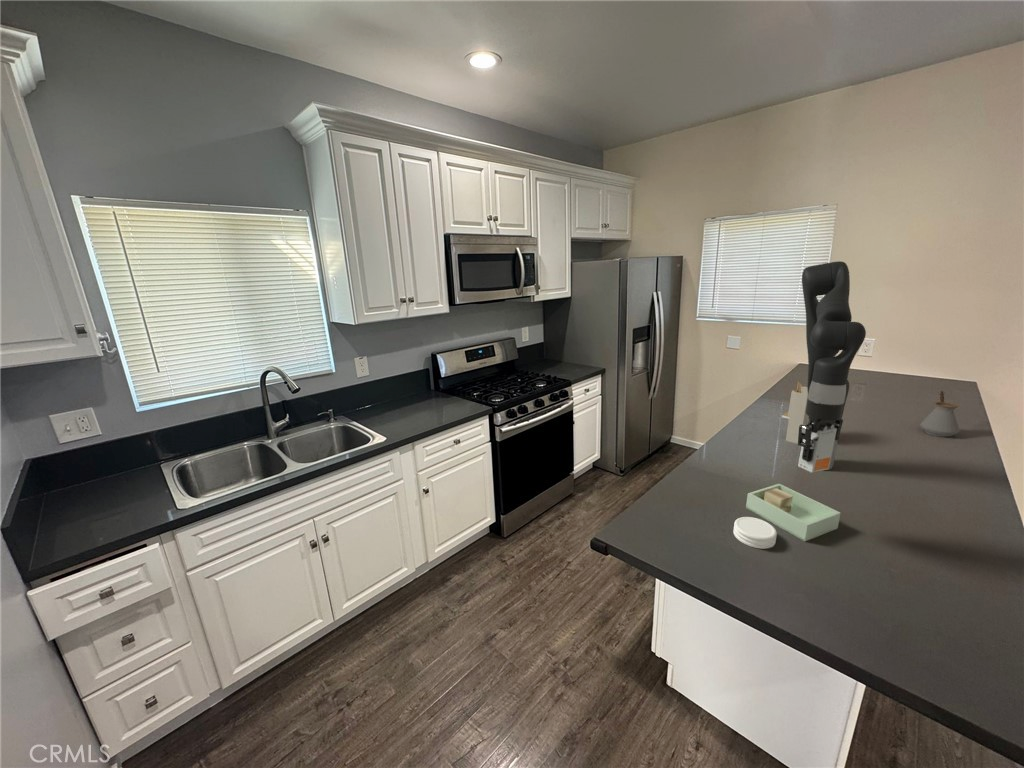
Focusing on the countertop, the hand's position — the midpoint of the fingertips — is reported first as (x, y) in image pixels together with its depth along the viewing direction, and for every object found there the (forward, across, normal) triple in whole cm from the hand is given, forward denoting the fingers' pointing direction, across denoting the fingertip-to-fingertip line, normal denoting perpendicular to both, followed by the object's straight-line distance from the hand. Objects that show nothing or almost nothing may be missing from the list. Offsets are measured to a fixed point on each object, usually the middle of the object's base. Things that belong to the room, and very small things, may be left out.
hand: (815, 457), depth 109 cm
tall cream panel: (+22, -57, -40) cm, 73 cm away
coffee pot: (+21, -116, -21) cm, 120 cm away
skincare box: (+3, 0, 0) cm, 3 cm away
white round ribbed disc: (+21, +17, -2) cm, 27 cm away
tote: (+21, 0, -4) cm, 21 cm away
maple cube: (+20, 0, -8) cm, 22 cm away
